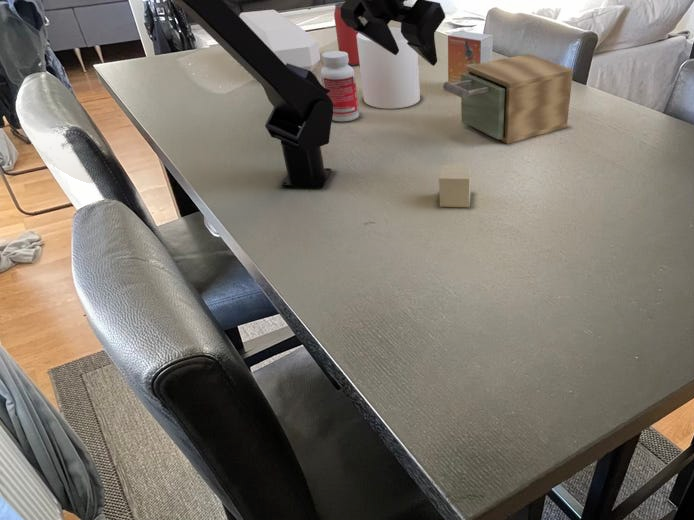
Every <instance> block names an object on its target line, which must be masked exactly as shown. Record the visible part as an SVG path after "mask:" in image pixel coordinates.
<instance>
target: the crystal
mask: <svg viewBox="0 0 694 520" xmlns="http://www.w3.org/2000/svg"><path fill="white" fill-rule="evenodd" d="M238 16H239V17H240V18H241V19H242V20H243V21H244V22H245V23H246V24H247V25H248V26H249V27H250V28H251V29H252V30H253V31H254V32H255V34H256V35H257V36H258V37H259V38H260V39H261V40H262V41H263V42H264V43H265V44H266V45H267V46H268V47H269V48H270V49H271V50H272V51H273V52H274V54H275V55H276V56H277V57H278V58H279V59H280V60H281V61H282V62H283V63H284V64H285V65H286V63H288V64H291V65H294V66H297V67H300V68H303V69H306V70H309V71H311V72H312V73H313V71H314V69H315V68H316V66H317V65H318V64H319V62H320V61H321V54H320V47H319V41H318V40H316V39H315V38H314V37H313V36H312V35H310V33H308V32H307V31H305V30H304V29H303V28H302V27H301V26H299V25H298V24H296V23H295V22H293V21H292V20H290V19H289V18H288V17H286V16H285V15H283V14H281V13H280V12H278V11H277V10H276V9H265V10H256V11H255V10H254V11H246V12H245V11H244V12H240V14H239V15H238Z"/></svg>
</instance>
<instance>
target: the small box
mask: <svg viewBox="0 0 694 520" xmlns="http://www.w3.org/2000/svg"><path fill="white" fill-rule="evenodd" d="M493 41H494V35H493V34H487V33H478V32H471V31H465V30H457V31H455V32H453V33H449V34H448V35H447V82H450V83H456V82H461V74H462V73H467V66H469V65H474V64H479V63H484V62H489V61H493V43H494V42H493ZM460 87H461V86H460Z"/></svg>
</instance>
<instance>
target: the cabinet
mask: <svg viewBox="0 0 694 520" xmlns="http://www.w3.org/2000/svg"><path fill="white" fill-rule="evenodd" d="M467 73H468V74H471V75H473V76H474V75H475V74H476V75H479V76H481V77H484V78H486V79H488V80H491V81H493V82H496V83H498V84H500V85H503V86H505V87H507V98H506V123H505V133H504V132H503V138H502V139H499V141H501V142H503V143H505V144H507V145H508V144H512V143H515V142H519V141H523V140H527V139H530V138H534V137H538V136H541V135H544V134H548V133H552V132H556V131H559V130H562V129H566V128H568V121H569V112H570V111H569V110H570V101H571V93H572V84H573V74H574V69H572V68H570V67H567V66H564V65H561V64H559V63H555V62H553V61H550V60H547V59H545V58H542V57H539V56H536V55H532V54H529V53H526V54H521V55H517V56H511V57H506V58H501V59H494V60H492V61H489V62H484V63H479V64H474V65H469V66H467Z"/></svg>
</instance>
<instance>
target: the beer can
mask: <svg viewBox="0 0 694 520" xmlns="http://www.w3.org/2000/svg"><path fill="white" fill-rule="evenodd" d="M344 2H345V1H343V2H337V3H336V4H334V7H335V8H334V13H333V17H334V24H335V32H336V40H337V47H338V51H342V52H346V53H348V58H349V62H348V65H349V66H360V62H359V54H358V45H357V36H356V35H357V34H358V33H359V32H356V31H355V30H354V29H353V28H351V27H347V26H346V24H345V23H344V21H343V20H342V18H341V6H342V5H343V4H344Z"/></svg>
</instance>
